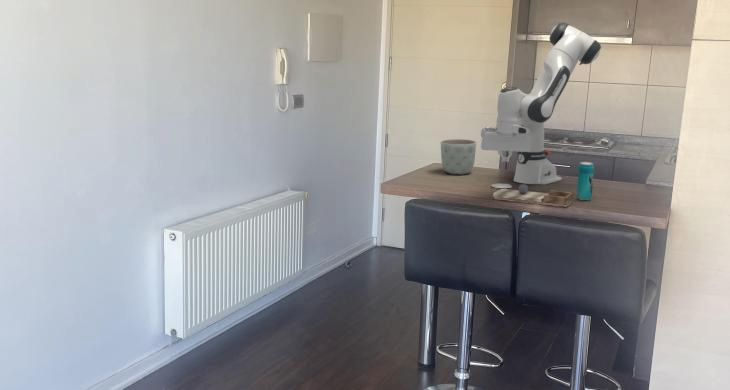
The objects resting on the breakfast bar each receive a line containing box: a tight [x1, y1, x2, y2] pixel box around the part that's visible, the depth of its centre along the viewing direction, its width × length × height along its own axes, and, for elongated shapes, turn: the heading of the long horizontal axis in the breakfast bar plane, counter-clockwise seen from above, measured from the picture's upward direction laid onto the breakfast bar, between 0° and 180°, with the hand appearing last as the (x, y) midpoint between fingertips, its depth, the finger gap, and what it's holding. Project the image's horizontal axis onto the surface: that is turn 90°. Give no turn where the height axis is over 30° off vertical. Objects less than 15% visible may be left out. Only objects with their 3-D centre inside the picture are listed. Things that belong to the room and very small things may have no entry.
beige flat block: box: [492, 188, 549, 202], centre depth 291 cm, size 20×10×2 cm, turn 60°
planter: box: [440, 138, 477, 175], centre depth 344 cm, size 17×17×15 cm
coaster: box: [490, 183, 513, 189], centre depth 315 cm, size 9×9×1 cm
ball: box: [517, 183, 529, 194], centre depth 290 cm, size 4×4×4 cm
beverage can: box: [576, 161, 595, 201], centre depth 289 cm, size 6×6×15 cm
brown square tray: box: [541, 189, 574, 205], centre depth 284 cm, size 10×10×4 cm
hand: (505, 161), depth 291 cm, fingers closed
